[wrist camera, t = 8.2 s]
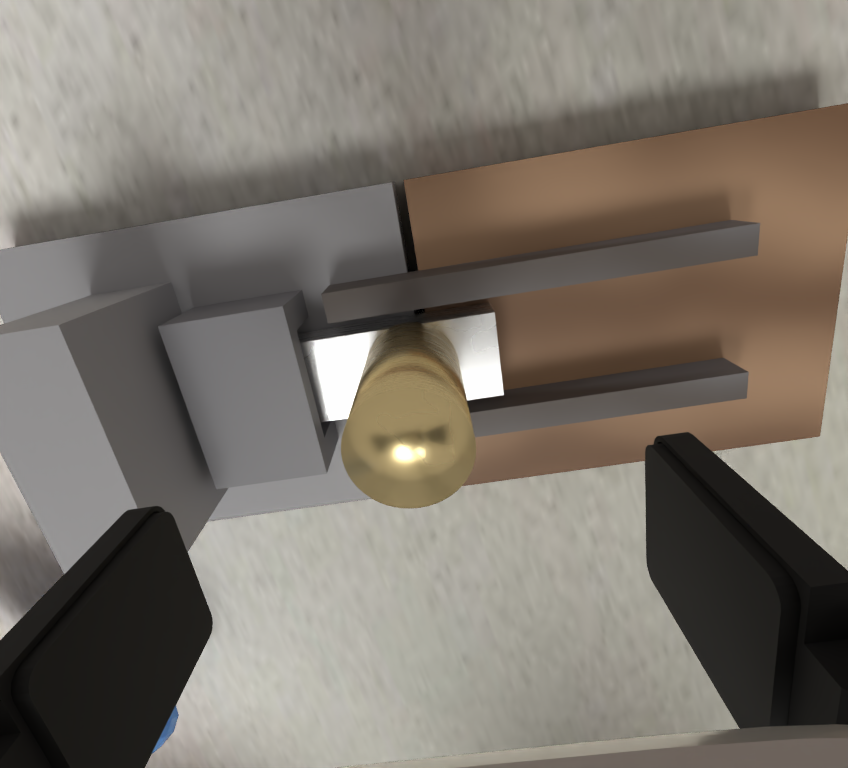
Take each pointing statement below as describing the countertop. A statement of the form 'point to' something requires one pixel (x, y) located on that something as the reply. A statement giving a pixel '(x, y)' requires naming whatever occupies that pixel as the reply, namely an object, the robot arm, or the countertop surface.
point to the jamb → (181, 363)
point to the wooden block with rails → (638, 289)
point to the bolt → (406, 398)
